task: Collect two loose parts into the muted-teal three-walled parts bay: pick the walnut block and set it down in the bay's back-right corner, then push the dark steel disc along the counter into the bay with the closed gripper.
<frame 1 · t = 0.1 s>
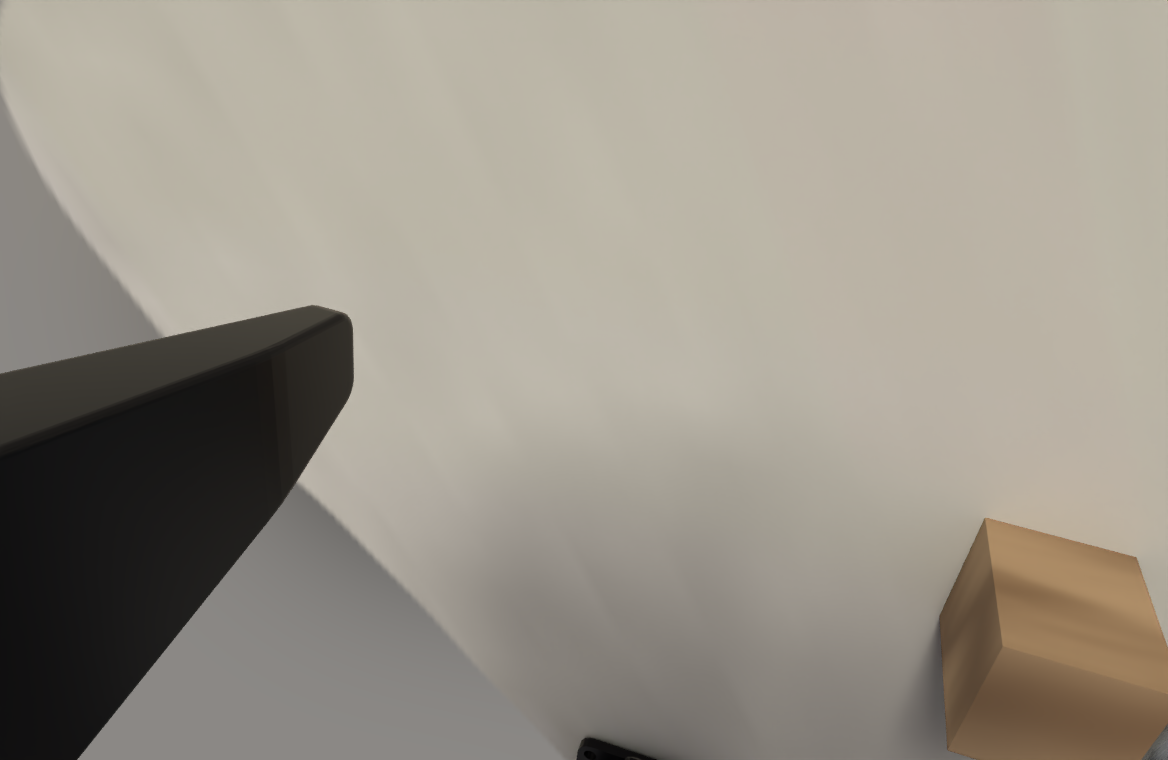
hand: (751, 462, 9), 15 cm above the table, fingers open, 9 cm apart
walnut block: (1032, 587, 26), on the table
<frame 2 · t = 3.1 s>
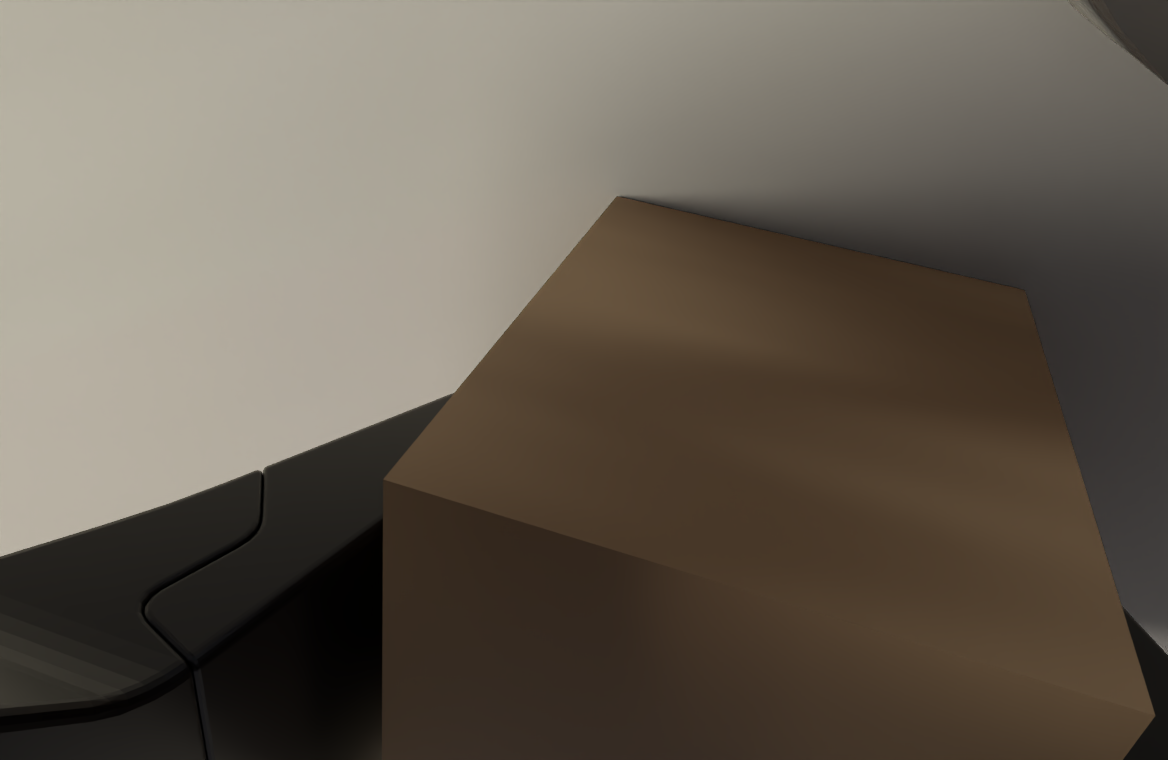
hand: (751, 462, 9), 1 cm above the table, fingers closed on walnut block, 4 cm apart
walnut block: (764, 408, 10), on the table, touching gripper
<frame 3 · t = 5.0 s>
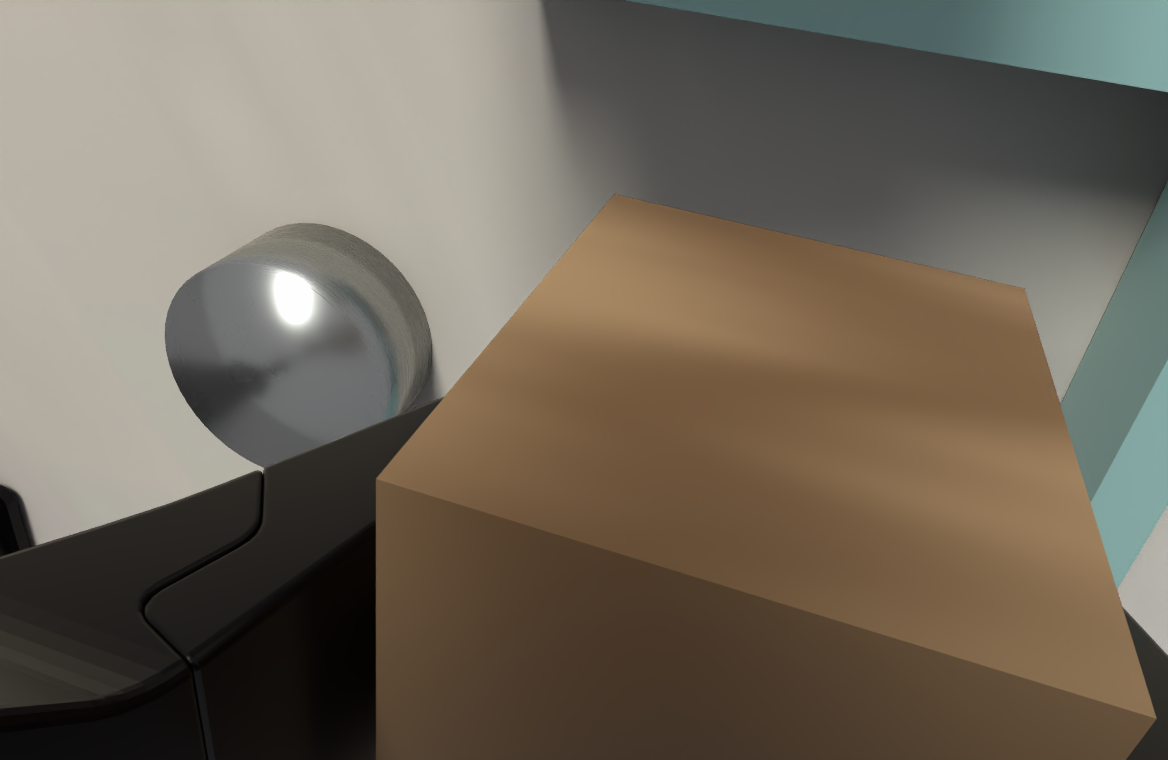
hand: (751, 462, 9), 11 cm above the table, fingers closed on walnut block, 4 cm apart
parts bay: (771, 329, 21), on the table
walnut block: (762, 407, 10), point 10 cm above the table, touching gripper
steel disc: (333, 325, 24), on the table
when the fingers open (2 cm above the table, at t = 7.1 s): walnut block drops 2 cm, on the table.
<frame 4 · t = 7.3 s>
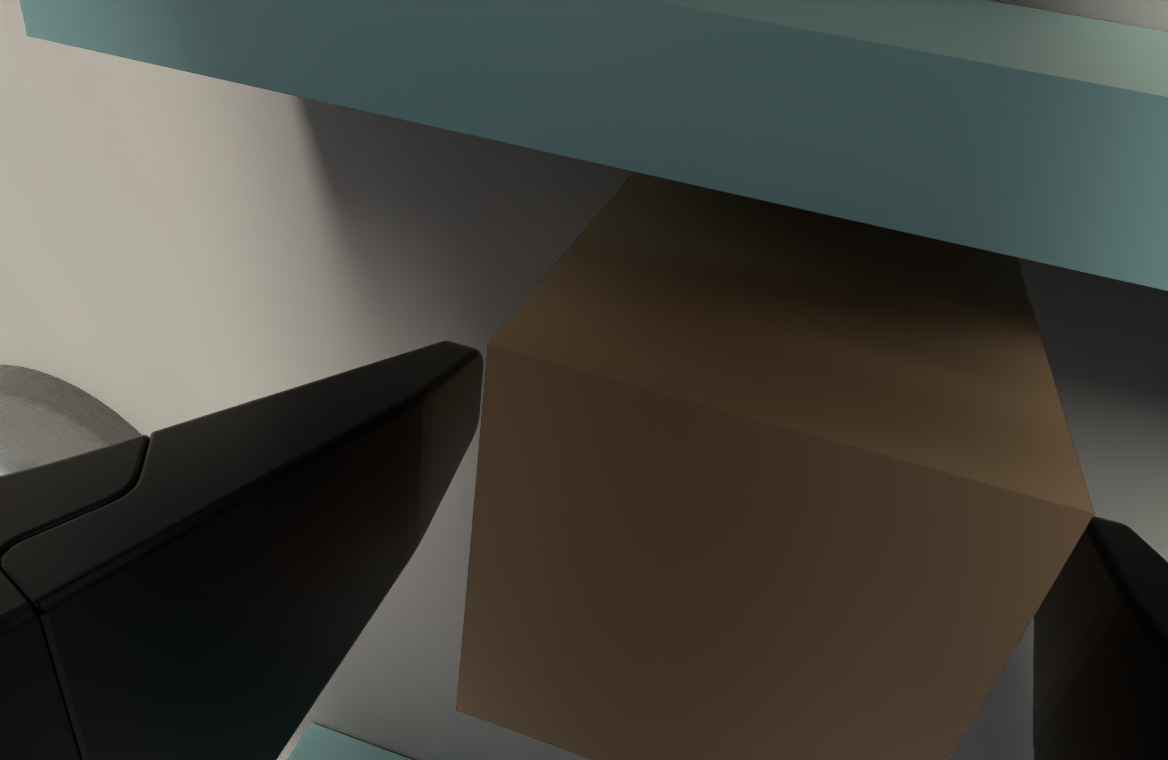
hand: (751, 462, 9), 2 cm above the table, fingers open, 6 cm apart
parts bay: (682, 570, 13), on the table
walnut block: (779, 342, 11), on the table
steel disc: (76, 498, 17), on the table
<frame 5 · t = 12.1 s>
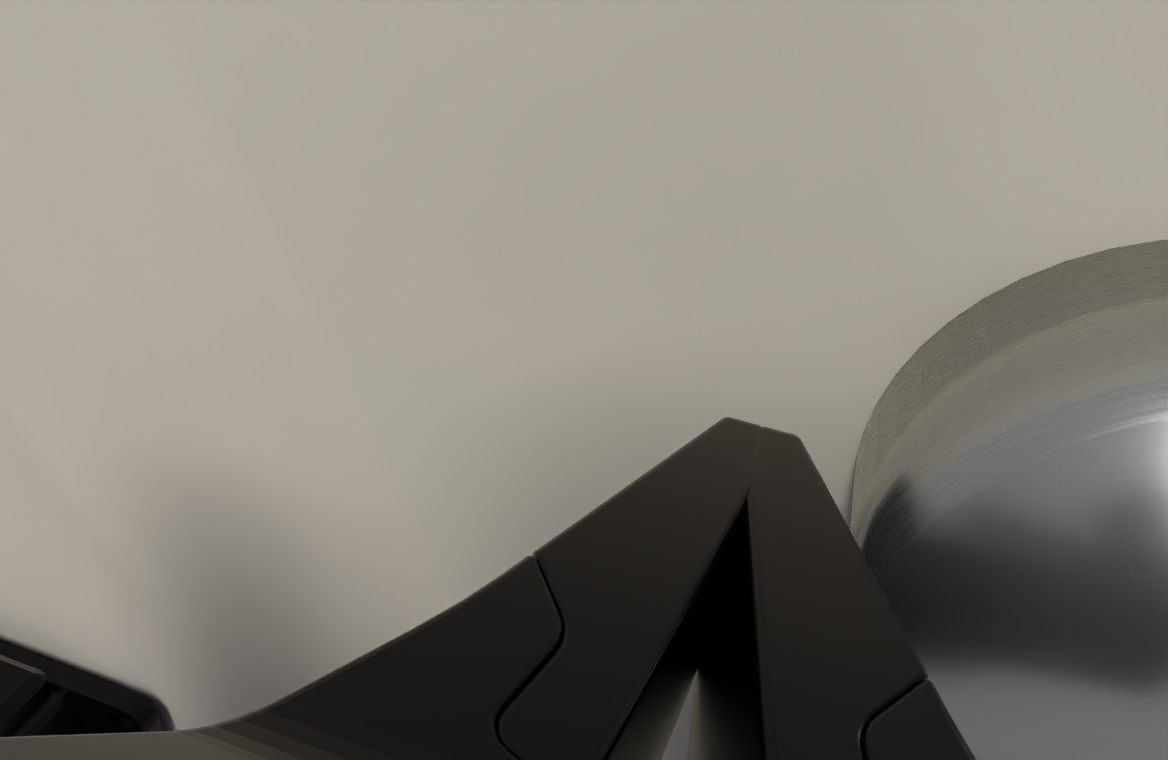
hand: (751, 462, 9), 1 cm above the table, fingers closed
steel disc: (1151, 508, 9), on the table, touching gripper
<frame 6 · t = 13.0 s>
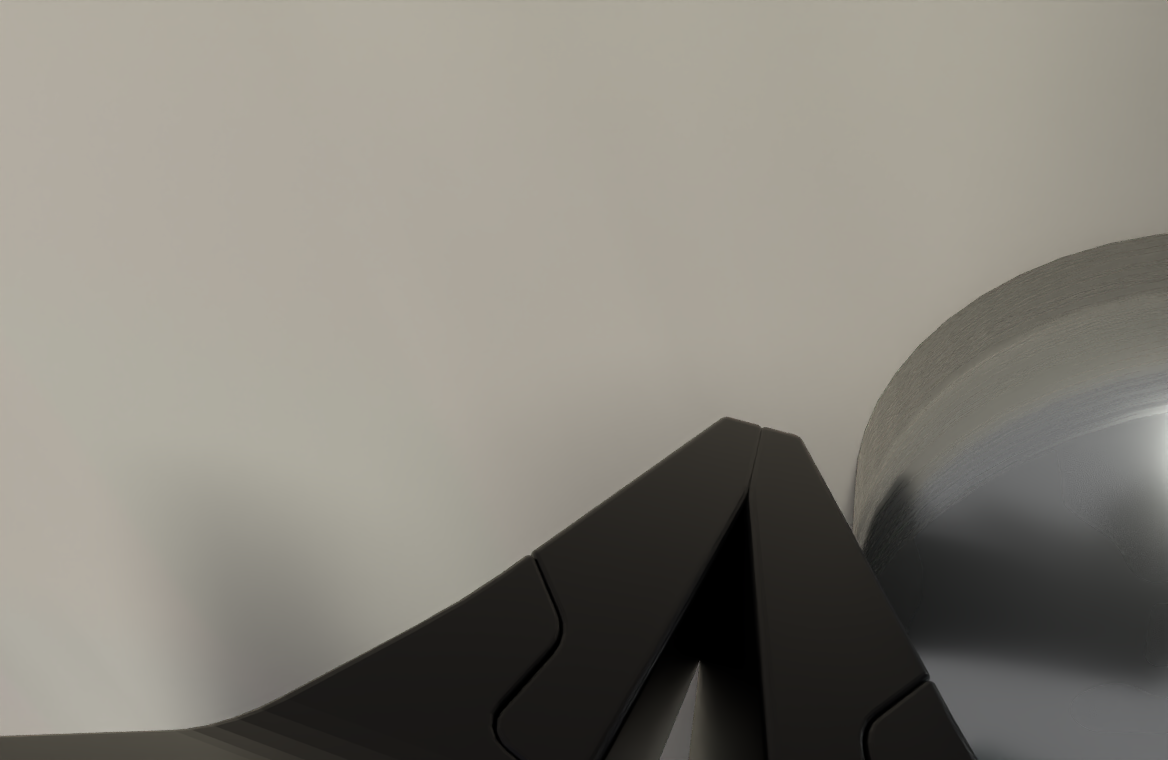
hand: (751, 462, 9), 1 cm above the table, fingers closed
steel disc: (1154, 503, 9), on the table, touching gripper
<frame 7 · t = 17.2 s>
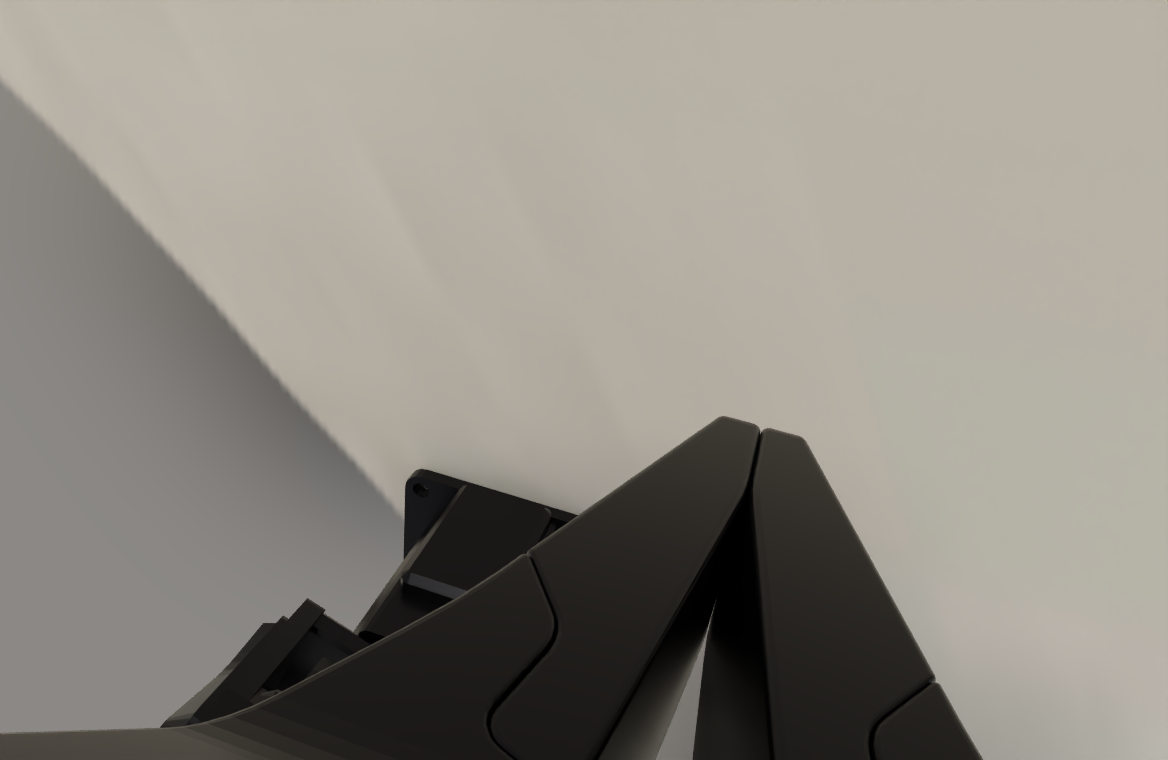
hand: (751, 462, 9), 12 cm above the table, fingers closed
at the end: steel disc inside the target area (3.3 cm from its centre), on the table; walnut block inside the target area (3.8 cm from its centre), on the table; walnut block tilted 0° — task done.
